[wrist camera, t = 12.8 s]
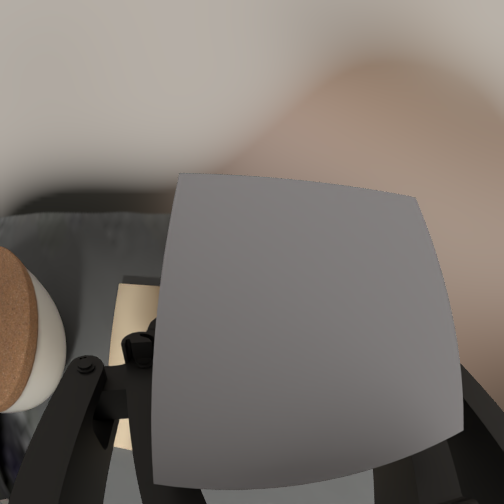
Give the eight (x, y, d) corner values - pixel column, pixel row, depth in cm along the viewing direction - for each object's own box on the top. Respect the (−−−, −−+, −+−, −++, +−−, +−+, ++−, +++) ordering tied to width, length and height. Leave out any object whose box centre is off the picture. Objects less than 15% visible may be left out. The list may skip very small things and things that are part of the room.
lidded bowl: (-14, 371, 15) (-86, 342, 6) (24, 272, 22) (-34, 213, 12) (66, 441, 15) (-17, 451, 5) (109, 321, 21) (43, 265, 12)
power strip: (205, 413, 17) (153, 483, 3) (206, 329, 20) (182, 161, 6) (289, 412, 17) (463, 430, 3) (286, 330, 20) (410, 186, 7)
